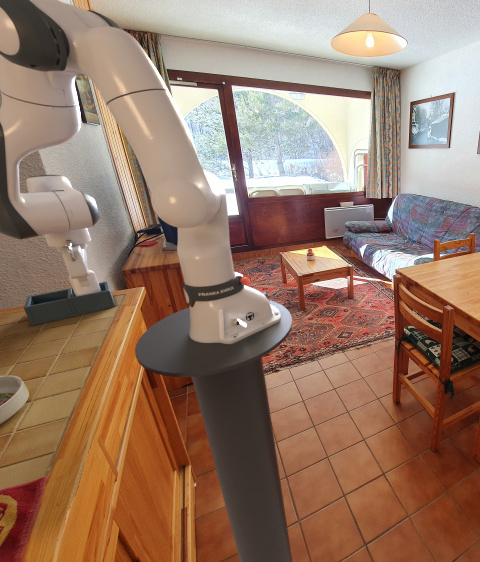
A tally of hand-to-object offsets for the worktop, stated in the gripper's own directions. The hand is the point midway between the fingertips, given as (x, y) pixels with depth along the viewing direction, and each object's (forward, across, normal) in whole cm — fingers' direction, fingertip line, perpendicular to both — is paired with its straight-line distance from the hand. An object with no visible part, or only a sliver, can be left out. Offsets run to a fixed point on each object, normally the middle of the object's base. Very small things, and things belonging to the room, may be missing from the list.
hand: (85, 283), depth 90 cm
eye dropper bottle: (+5, 0, 0) cm, 5 cm away
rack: (+7, 0, +4) cm, 8 cm away
